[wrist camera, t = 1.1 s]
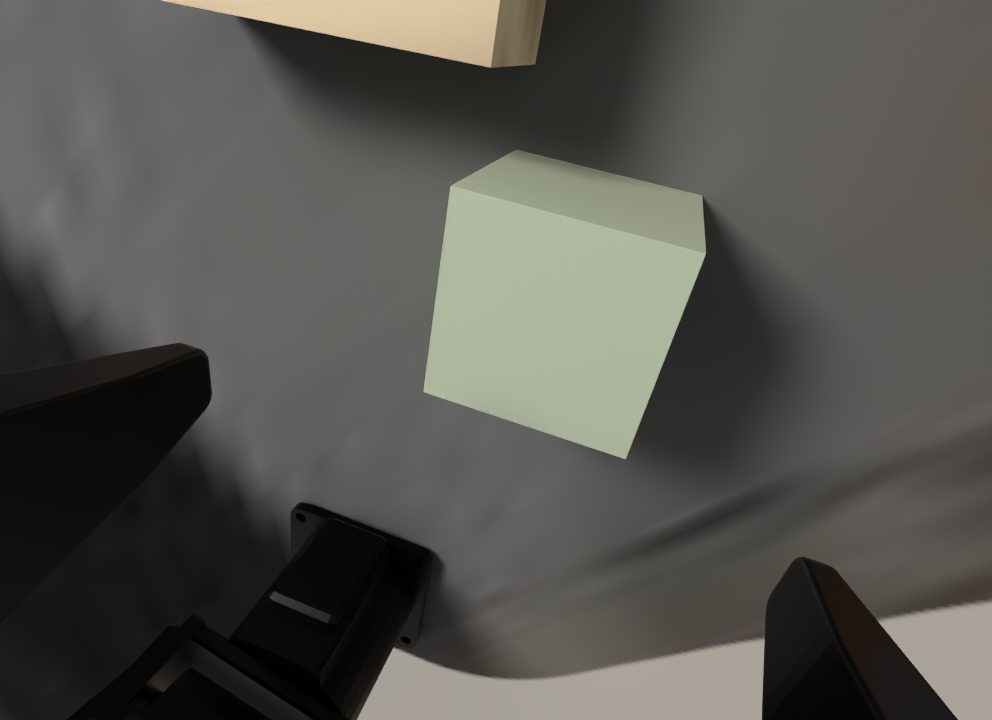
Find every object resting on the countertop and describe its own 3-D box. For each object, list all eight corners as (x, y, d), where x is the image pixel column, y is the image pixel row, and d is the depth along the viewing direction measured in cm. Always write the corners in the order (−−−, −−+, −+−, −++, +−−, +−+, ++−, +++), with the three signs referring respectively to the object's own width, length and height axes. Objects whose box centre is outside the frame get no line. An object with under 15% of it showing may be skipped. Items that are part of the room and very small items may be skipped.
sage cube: (641, 359, 17) (625, 458, 13) (486, 311, 18) (423, 391, 14) (702, 194, 14) (705, 253, 10) (517, 148, 15) (450, 185, 11)
